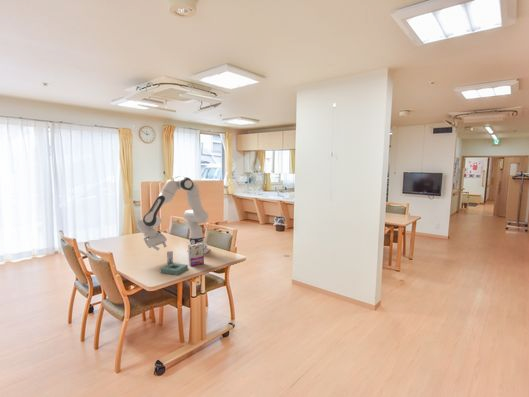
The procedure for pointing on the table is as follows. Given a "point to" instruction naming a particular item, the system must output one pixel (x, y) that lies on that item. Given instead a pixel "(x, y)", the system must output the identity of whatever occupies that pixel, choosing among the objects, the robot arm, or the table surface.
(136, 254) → the table surface
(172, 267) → the block
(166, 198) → the robot arm
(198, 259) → the candy bar box
